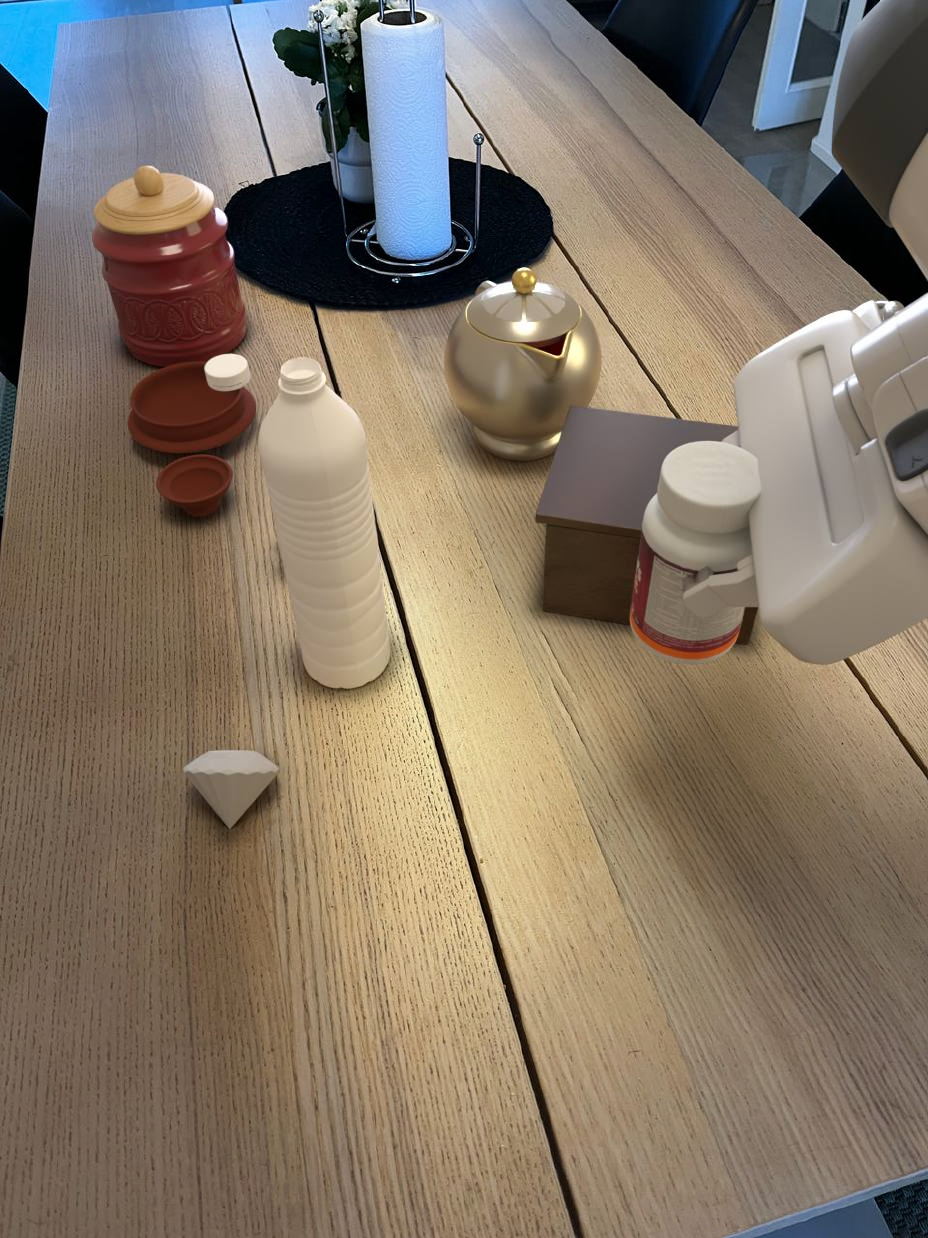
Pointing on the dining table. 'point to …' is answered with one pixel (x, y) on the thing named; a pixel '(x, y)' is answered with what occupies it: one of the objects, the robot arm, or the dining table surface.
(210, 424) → the pottery
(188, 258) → the kitchen canister
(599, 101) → the dining table surface
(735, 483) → the pill bottle
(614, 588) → the chest
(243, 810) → the gemstone
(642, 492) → the lid
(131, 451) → the dining table surface
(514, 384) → the teapot
